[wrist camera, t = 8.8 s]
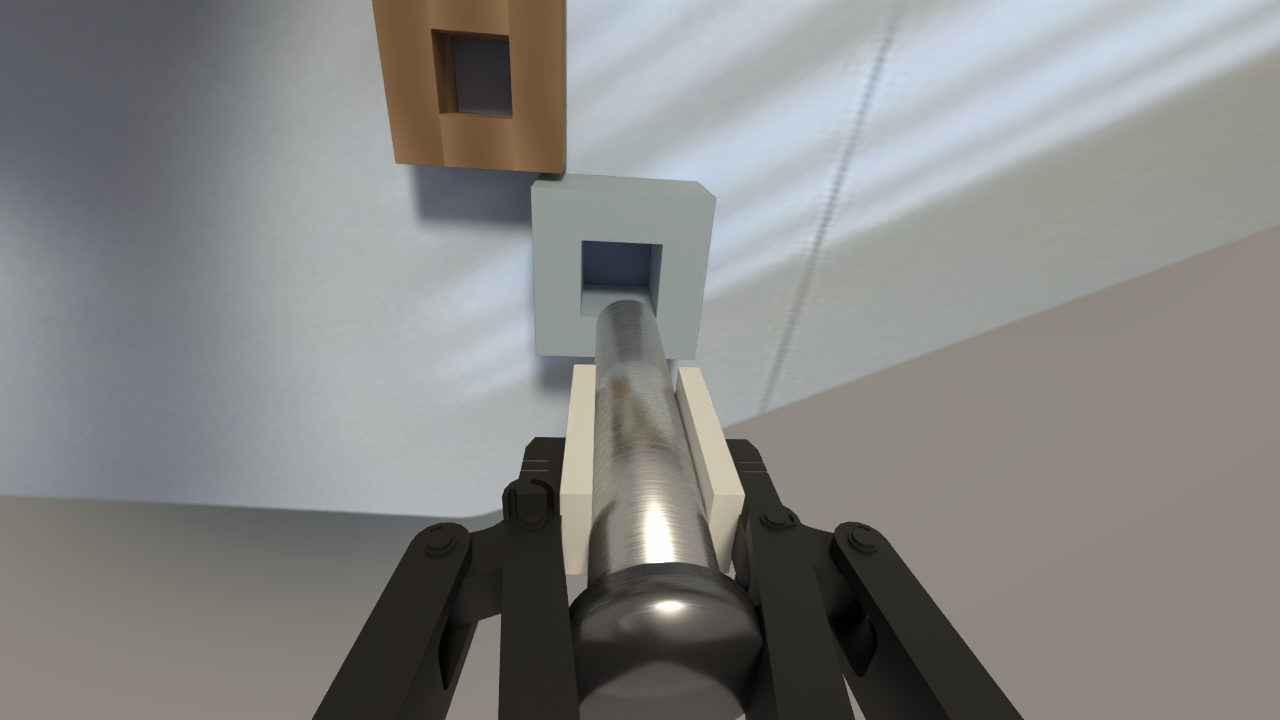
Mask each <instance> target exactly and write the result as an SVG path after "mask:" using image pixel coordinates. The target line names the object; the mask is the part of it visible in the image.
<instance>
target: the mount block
mask: <svg viewBox="0 0 1280 720" xmlns="http://www.w3.org/2000/svg"><path fill="white" fill-rule="evenodd" d="M372 4H373V11H374V17H375V24H376V31H377V38H378V45H379V52H380V59H381V66H382V72H383V79H384V86H385V93H386V100H387V107H388V114H389V121H390V128H391V134H392V141H393V148H394V155H395V162H396V163H397V164H413V165H429V166H445V167H462V168H478V169H494V170H510V171H526V172H543V173H559V174H562V173H563V171H564V169H565V167H566V0H372ZM452 37H456V38H468V39H480V40H491V41H503V42H509V46H510V69H511V91H512V114H513V116H505V115H491V114H477V113H463V112H458V102H457V91H456V79H455V68H454V56H453V45H452Z"/></svg>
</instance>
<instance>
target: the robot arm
mask: <svg viewBox="0 0 1280 720" xmlns="http://www.w3.org/2000/svg"><path fill="white" fill-rule="evenodd" d="M595 379H596V365H582V364H574V371H573V380H572V389H571V398H570V407H569V416H568V425H567V434H566V438H555V437H535V438H534V439H533V440H532V441H531V442H530V443H529V444H528V446H527V447H526V449H525V453H524V458H523V462H522V467H521V471H520V476H519V479H517V480H515V481H513V482H511V483H510V484H509V485H508V486H507V487H506V488H505V489H504V492H503V495H502V503H503V516H504V520H502V521H501V522H500V523H498V524H496V525H495V526H493V527H490V528H487V529H484V530H480V531H477V532H472V533H469V532H468V530H467V529H466V528H464V527H463V526H462V525H460V524H456V523H451V522H450V523H438V524H435V525H432V526H430V527H427V528H426V529H424V530H423V531H421V532H420V533H418V534H417V535H416V536H415V538H414V539H413V540H412V541H411V543H410V545H409V546H408V548H407V550H406V552H405V554H404V556H403V557H402V559H401V561H400V563H399V564H398V566H397V568H396V570H395V572H394V573H393V575H392V577H391V579H390V580H389V582H388V584H387V586H386V588H385V589H384V591H383V593H382V595H381V597H380V598H379V600H378V602H377V604H376V606H375V607H374V609H373V611H372V613H371V614H370V616H369V618H368V620H367V622H366V623H365V625H364V627H363V629H362V631H361V632H360V634H359V636H358V638H357V640H356V641H355V643H354V645H353V647H352V649H351V650H350V652H349V654H348V656H347V657H346V659H345V661H344V663H343V665H342V667H341V669H340V670H339V672H338V674H337V676H336V677H335V679H334V681H333V682H332V685H331V686H330V688H329V690H328V692H327V693H326V695H325V697H324V699H323V700H322V702H321V704H320V706H319V708H318V710H317V711H316V713H315V715H314V716H313V718H312V720H445V718H446V715H447V712H448V709H449V706H450V704H451V700H452V698H453V695H454V692H455V689H456V686H457V683H458V680H459V677H460V674H461V671H462V668H463V665H464V662H465V659H466V657H467V654H468V651H469V648H470V645H471V642H472V639H473V636H474V633H475V630H476V627H477V624H478V621H479V620H482V619H485V618H488V617H491V616H494V615H498V614H501V643H500V676H499V710H498V720H580V713H579V703H578V693H577V683H576V674H575V664H574V654H573V644H572V634H571V625H570V615H569V606H568V595H567V585H566V575H588V553H589V534H590V530H591V520H592V487H593V451H594V415H595ZM675 396H676V400H677V404H678V408H679V412H680V416H681V420H682V424H683V427H684V431H685V435H686V439H687V443H688V447H689V451H690V455H691V459H692V463H693V467H694V471H695V475H696V479H697V482H698V486H699V490H700V494H701V498H702V502H703V506H704V510H705V514H706V518H707V522H708V526H709V530H710V534H711V537H712V541H713V545H714V549H715V553H716V557H717V561H718V565H719V569H720V572H721V573H723V574H724V573H725V574H727V573H729V569H730V565H731V560H732V561H733V565H734V568H735V572H736V575H735V579H734V581H736V582H737V583H738V584H740V585H741V586H742V587H743V588H744V589H745V590H746V592H747V593H748V595H749V596H750V597H751V599H752V602H753V604H754V606H755V609H756V613H757V617H758V620H759V624H760V628H761V632H762V636H763V640H764V644H765V646H764V649H763V653H762V657H761V660H760V664H759V668H758V671H757V675H756V679H755V682H754V686H753V690H752V693H751V697H750V701H749V704H748V708H747V712H745V718H746V720H855V718H854V714H853V710H852V707H851V703H850V699H849V696H848V692H847V689H846V685H845V681H844V677H845V679H846V681H847V683H848V685H849V687H850V689H851V691H852V693H853V695H854V697H855V699H856V701H857V703H858V705H859V707H860V709H861V711H862V713H863V715H864V717H865V719H866V720H1024V719H1023V718H1022V717H1021V715H1020V714H1019V713H1018V711H1017V710H1016V709H1015V707H1014V706H1013V705H1012V704H1011V702H1010V701H1009V700H1008V698H1007V697H1006V696H1005V694H1004V693H1003V692H1002V690H1001V689H1000V688H999V687H998V685H997V684H996V682H995V681H994V680H993V678H992V677H991V676H990V675H989V673H988V672H987V671H986V669H985V668H984V667H983V665H982V664H981V663H980V662H979V660H978V659H977V657H976V656H975V655H974V654H973V652H972V651H971V650H970V648H969V647H968V646H967V644H966V643H965V642H964V640H963V639H962V638H961V637H960V635H959V634H958V632H957V631H956V630H955V629H954V627H953V626H952V625H951V623H950V622H949V621H948V619H947V618H946V617H945V615H944V614H943V613H942V611H941V610H940V609H939V608H938V606H937V605H936V604H935V602H934V601H933V600H932V598H931V597H930V596H929V594H928V593H927V592H926V590H925V589H924V588H923V587H922V585H921V584H920V583H919V581H918V580H917V579H916V577H915V576H914V575H913V574H912V572H911V571H910V570H909V568H908V567H907V566H906V564H905V563H904V562H903V560H902V559H901V558H900V556H899V555H898V554H897V552H896V551H895V550H894V548H893V547H892V546H891V544H890V543H889V542H888V540H887V539H886V538H885V537H884V536H883V535H882V534H881V533H879V532H878V531H877V530H875V529H873V528H871V527H870V526H868V525H865V524H862V523H859V522H845V523H842V524H840V525H839V526H838V527H837V528H835V532H834V533H830V532H826V531H822V530H818V529H814V528H811V527H808V526H805V525H803V524H801V522H800V520H799V518H798V516H797V515H796V514H795V513H793V512H792V511H791V510H790V509H789V508H787V507H785V506H783V505H782V503H781V501H780V499H779V496H778V494H777V492H776V490H775V487H774V485H773V483H772V481H771V479H770V476H769V474H768V473H767V470H766V467H765V465H764V463H763V460H762V458H761V456H760V454H759V451H758V450H757V449H756V448H755V447H754V446H753V445H752V444H751V443H750V442H749V441H748V440H746V439H725V438H724V435H723V432H722V430H721V427H720V424H719V421H718V418H717V416H716V413H715V410H714V407H713V405H712V402H711V399H710V396H709V393H708V391H707V388H706V385H705V382H704V380H703V377H702V374H701V371H700V369H699V368H686V367H678V375H677V384H676V392H675ZM842 673H843V674H842ZM843 675H844V677H843Z"/></svg>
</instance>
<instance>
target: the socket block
mask: <svg viewBox="0 0 1280 720" xmlns="http://www.w3.org/2000/svg"><path fill="white" fill-rule="evenodd" d="M715 204H716V197H715V196H714V195H712V194H711V193H710V192H709V191H708V190H707V189H705V188H704V187H703V186H702V185H701V184H700V183H699V182H694V181H678V180H662V179H646V178H629V177H613V176H597V175H581V174H565V173H562V174H559V173H543V172H542V173H541V175H540V176H539V177H538V179H537V180H536V181H535V182H534V184H533V185H532V186H531V208H532V241H533V274H534V306H535V339H536V355H544V356H579V357H595V338H596V323H597V319H598V317H599V315H600V313H601V312H602V311H603V309H604V308H605V307H607V306H608V305H610V304H611V303H613V302H616V301H619V300H627V299H629V300H635V301H638V302H641V303H643V304H644V305H646V306H647V307H648V308H649V309H650V310H651V311H652V312H653V314H654V316H655V318H656V321H657V325H658V329H659V333H660V337H661V341H662V345H663V349H664V353H665V357H666V359H683V360H695V355H696V347H697V340H698V332H699V325H700V317H701V310H702V302H703V294H704V287H705V279H706V272H707V264H708V257H709V249H710V241H711V234H712V226H713V219H714V211H715ZM584 240H586V241H606V242H626V243H646V244H652V245H651V258H650V270H649V283H648V287H647V286H623V285H599V284H584Z"/></svg>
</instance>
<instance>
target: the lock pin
mask: <svg viewBox="0 0 1280 720" xmlns="http://www.w3.org/2000/svg"><path fill="white" fill-rule="evenodd" d="M595 365H596V379H595V415H594V451H593V487H592V520H591V530H590V534H589V553H588V583H587V589H585V590H584V591H583V592H582V593H581V594H580V595H579V596H578V597H577V598H576V599H575V600H574V601H573V603H572V604H571V606H570V607H569V615H570V625H571V634H572V644H573V654H574V664H575V674H576V683H577V693H578V703H579V713H580V720H735V719H737V718H739V717H740V716H741V715H742V714H744V713H745V712H747V708H748V704H749V701H750V697H751V693H752V690H753V686H754V682H755V679H756V675H757V671H758V668H759V664H760V660H761V657H762V653H763V649H764V646H765V644H764V640H763V636H762V632H761V628H760V624H759V620H758V617H757V613H756V609H755V606H754V604H753V602H752V599H751V597H750V596H749V595H748V593H747V592H746V590H745V589H744V588H743V587H742V586H741V585H740V584H738V583H737V582H736V581H734V580H733V579H732V578H730V577H729V576H727V575H725V574H723V573H721V572H720V569H719V565H718V561H717V557H716V553H715V549H714V545H713V541H712V537H711V534H710V530H709V526H708V522H707V518H706V514H705V510H704V506H703V502H702V498H701V494H700V490H699V486H698V482H697V479H696V475H695V471H694V467H693V463H692V459H691V455H690V451H689V447H688V443H687V439H686V435H685V431H684V427H683V424H682V420H681V416H680V412H679V408H678V404H677V400H676V396H675V392H674V388H673V384H672V380H671V376H670V372H669V369H668V365H667V361H666V357H665V353H664V349H663V345H662V341H661V337H660V333H659V329H658V325H657V321H656V318H655V316H654V314H653V312H652V311H651V310H650V309H649V308H648V307H647V306H646V305H644V304H643V303H641V302H638V301H635V300H629V299H627V300H619V301H616V302H613V303H611V304H610V305H608V306H607V307H605V308H604V309H603V311H602V312H601V313H600V315H599V317H598V319H597V323H596V338H595Z"/></svg>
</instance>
